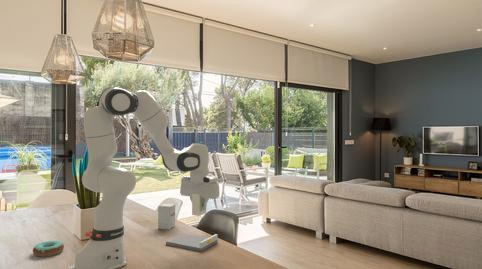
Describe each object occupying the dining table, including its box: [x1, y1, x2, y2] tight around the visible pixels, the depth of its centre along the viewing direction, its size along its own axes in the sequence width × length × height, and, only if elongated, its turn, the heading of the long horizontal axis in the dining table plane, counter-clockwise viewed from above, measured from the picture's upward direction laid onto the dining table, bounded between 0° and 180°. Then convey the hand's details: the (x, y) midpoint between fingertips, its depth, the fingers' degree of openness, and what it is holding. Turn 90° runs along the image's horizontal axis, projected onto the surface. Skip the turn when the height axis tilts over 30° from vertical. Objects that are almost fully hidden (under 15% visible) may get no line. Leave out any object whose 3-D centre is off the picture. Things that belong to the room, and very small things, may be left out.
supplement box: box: [157, 203, 176, 230], centre depth 188 cm, size 7×7×13 cm
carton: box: [191, 193, 207, 217], centre depth 160 cm, size 6×4×10 cm
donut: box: [32, 240, 65, 258], centre depth 148 cm, size 12×12×4 cm
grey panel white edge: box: [165, 233, 218, 252], centre depth 162 cm, size 14×20×4 cm
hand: (199, 206), depth 160 cm, fingers closed on carton, 4 cm apart
